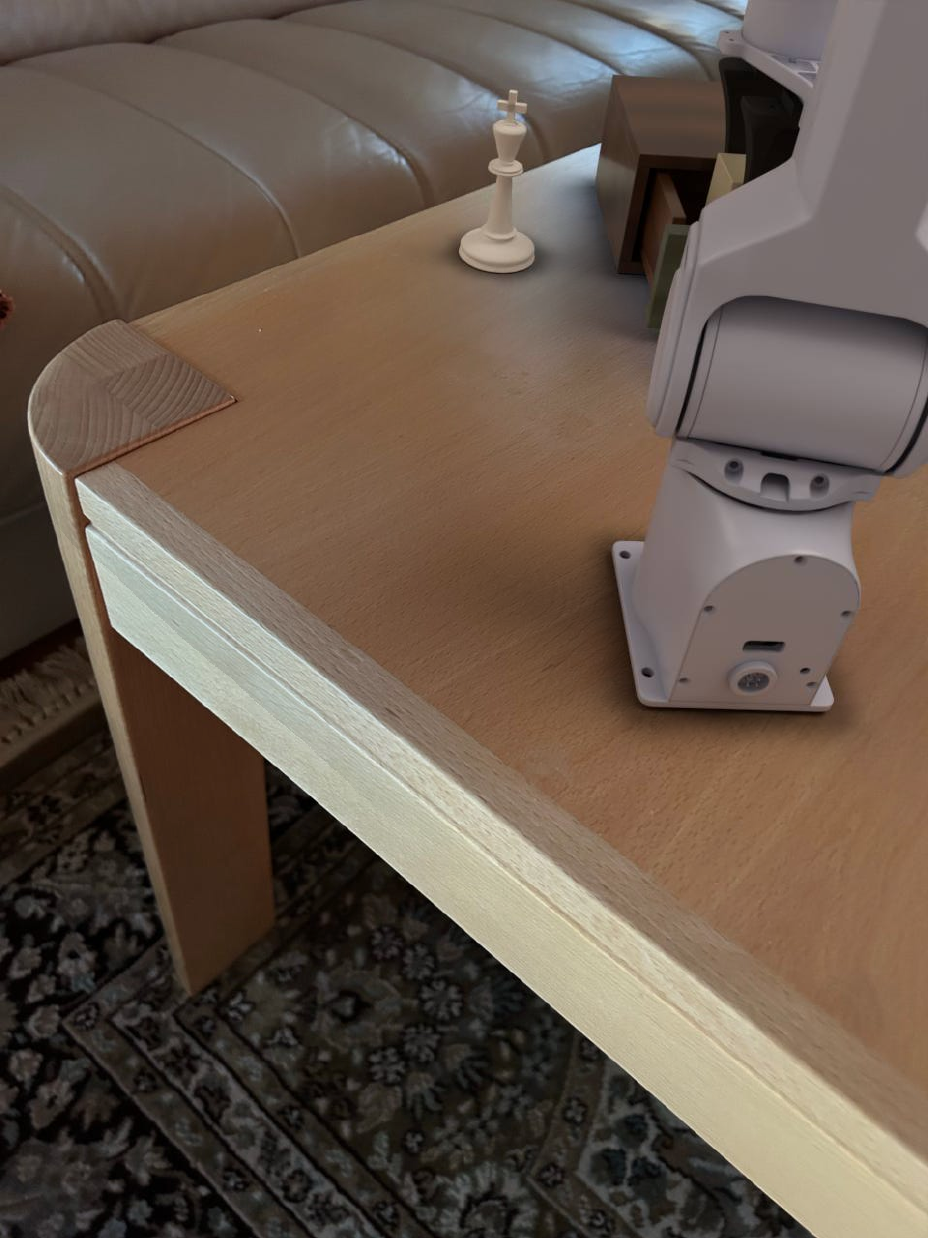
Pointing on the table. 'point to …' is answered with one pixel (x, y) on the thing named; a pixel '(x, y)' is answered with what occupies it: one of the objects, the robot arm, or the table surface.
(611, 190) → the cabinet
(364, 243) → the table surface
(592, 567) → the table surface
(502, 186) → the chess piece
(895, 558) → the table surface
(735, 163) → the block
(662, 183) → the drawer
